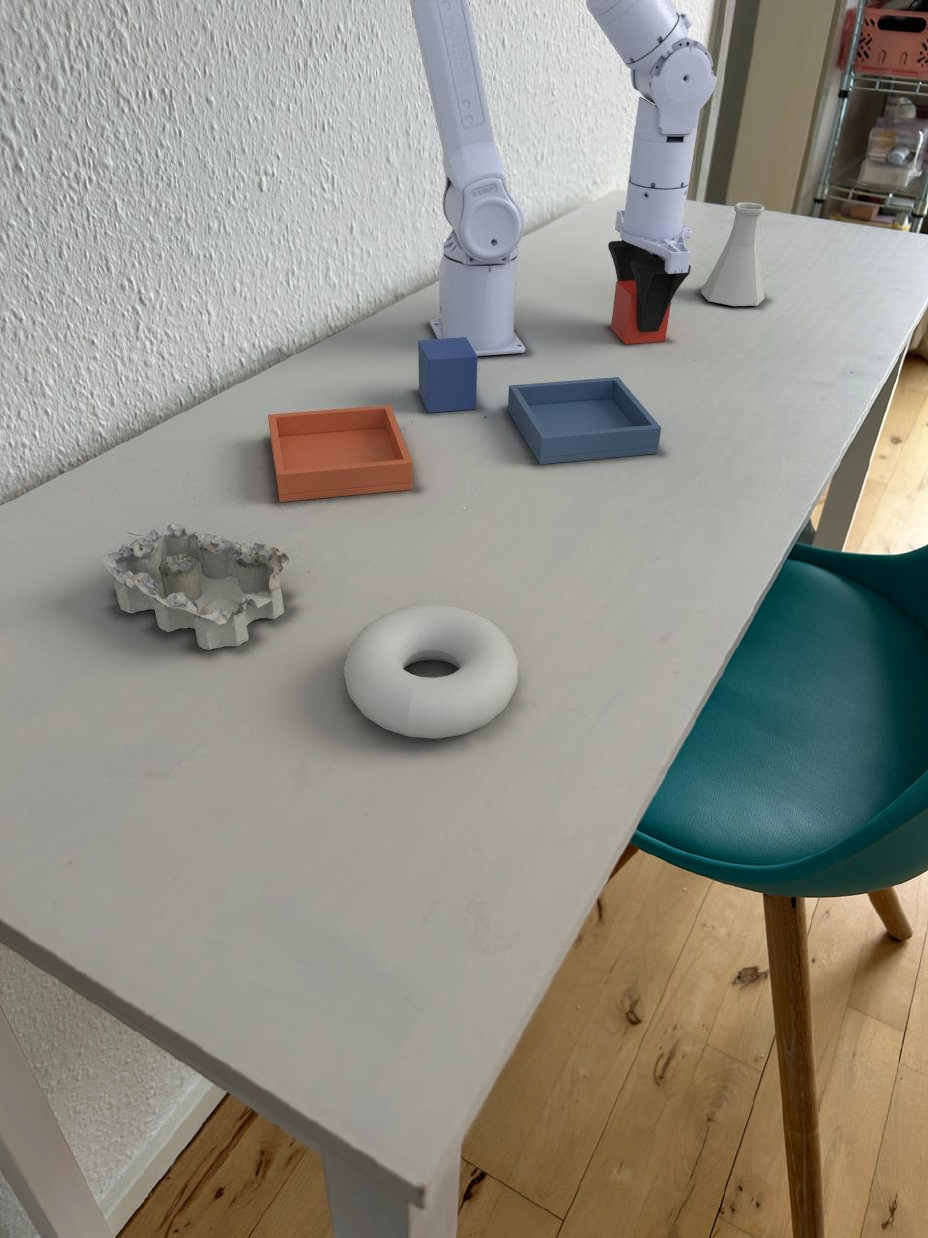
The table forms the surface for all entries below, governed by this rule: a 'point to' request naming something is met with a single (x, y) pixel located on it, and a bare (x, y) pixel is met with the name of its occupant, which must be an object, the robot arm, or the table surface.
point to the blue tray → (582, 420)
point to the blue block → (447, 374)
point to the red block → (632, 316)
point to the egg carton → (199, 583)
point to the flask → (738, 262)
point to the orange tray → (339, 453)
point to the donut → (423, 699)
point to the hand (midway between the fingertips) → (639, 321)
